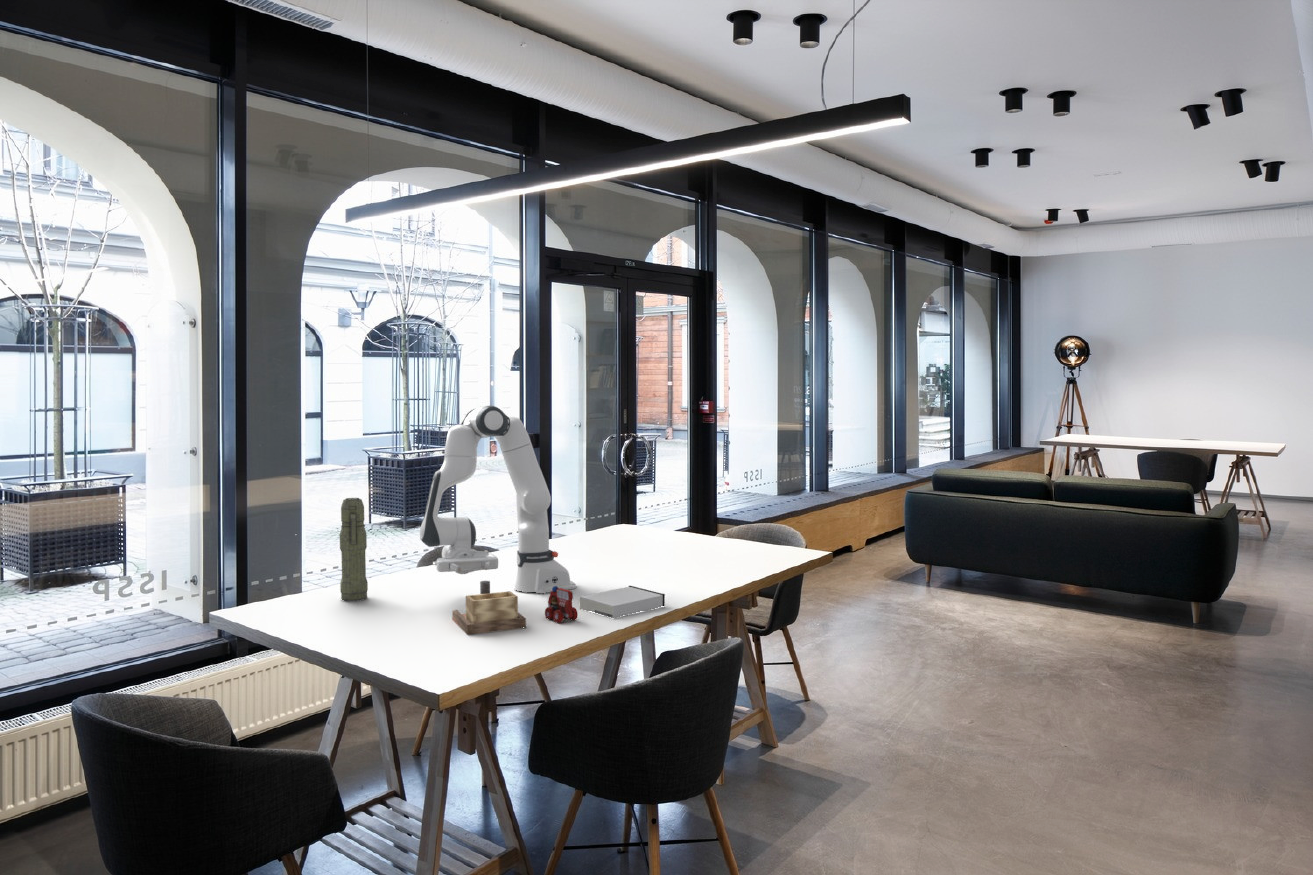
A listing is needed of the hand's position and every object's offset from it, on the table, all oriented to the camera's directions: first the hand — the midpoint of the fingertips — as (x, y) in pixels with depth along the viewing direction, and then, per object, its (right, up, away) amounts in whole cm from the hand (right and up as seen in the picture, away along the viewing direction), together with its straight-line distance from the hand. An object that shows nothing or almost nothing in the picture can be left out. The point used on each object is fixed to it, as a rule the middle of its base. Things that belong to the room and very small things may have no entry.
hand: (472, 568), depth 293 cm
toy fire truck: (+30, -15, -8) cm, 34 cm away
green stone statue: (-45, -14, +20) cm, 51 cm away
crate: (+8, -14, -15) cm, 22 cm away
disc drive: (+48, -15, +7) cm, 51 cm away
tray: (+8, -15, -13) cm, 22 cm away
